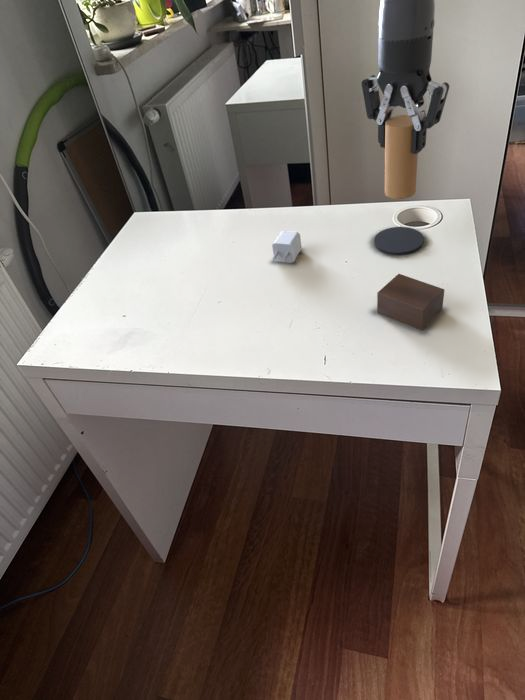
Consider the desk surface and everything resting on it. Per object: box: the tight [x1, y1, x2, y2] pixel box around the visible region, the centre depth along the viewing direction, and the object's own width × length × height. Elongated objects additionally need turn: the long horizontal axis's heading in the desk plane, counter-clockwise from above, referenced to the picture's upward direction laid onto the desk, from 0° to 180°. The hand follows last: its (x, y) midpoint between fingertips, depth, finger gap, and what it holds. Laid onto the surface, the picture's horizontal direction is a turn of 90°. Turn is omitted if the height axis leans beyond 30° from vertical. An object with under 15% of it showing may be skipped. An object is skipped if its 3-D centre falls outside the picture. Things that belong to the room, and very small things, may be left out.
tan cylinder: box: [384, 114, 419, 200], centre depth 86 cm, size 12×5×12 cm
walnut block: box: [376, 273, 445, 331], centre depth 81 cm, size 6×8×4 cm
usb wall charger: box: [271, 230, 302, 264], centre depth 97 cm, size 4×7×4 cm, turn 158°
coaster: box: [373, 226, 425, 256], centre depth 97 cm, size 9×9×1 cm
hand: (401, 148), depth 85 cm, fingers closed on tan cylinder, 5 cm apart
